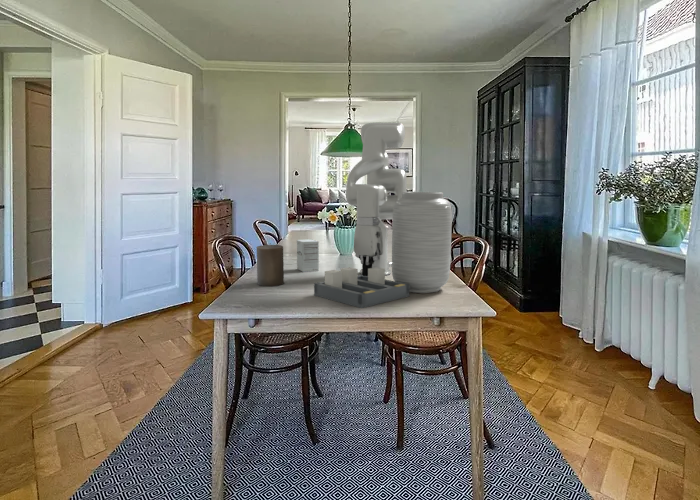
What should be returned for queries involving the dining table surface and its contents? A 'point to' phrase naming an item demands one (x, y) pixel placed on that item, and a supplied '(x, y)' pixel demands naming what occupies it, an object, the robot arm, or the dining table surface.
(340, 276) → the tab
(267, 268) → the pillar candle
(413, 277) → the vase
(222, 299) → the dining table surface
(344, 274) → the tab middle
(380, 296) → the switch bank
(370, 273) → the tab
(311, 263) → the supplement box
